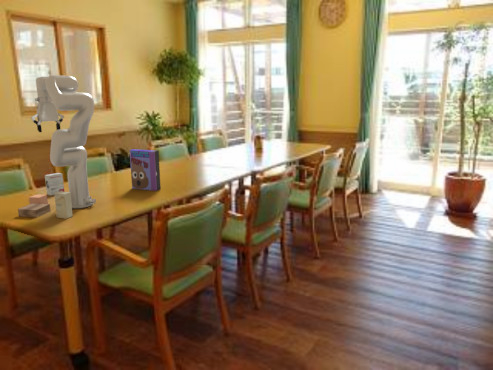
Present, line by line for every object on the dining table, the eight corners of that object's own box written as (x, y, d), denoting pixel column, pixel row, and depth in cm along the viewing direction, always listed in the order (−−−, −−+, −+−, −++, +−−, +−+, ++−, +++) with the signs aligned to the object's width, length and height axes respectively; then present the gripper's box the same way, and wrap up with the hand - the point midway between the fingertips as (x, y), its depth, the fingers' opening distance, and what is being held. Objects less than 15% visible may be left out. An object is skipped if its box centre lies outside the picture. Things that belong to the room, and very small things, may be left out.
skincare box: (56, 217, 195) (53, 193, 192) (63, 214, 199) (60, 190, 196) (66, 218, 193) (63, 194, 190) (73, 216, 197) (70, 192, 194)
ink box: (60, 191, 244) (58, 172, 241) (65, 192, 241) (62, 173, 238) (46, 194, 237) (44, 174, 235) (50, 195, 234) (48, 175, 232)
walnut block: (50, 211, 205) (49, 204, 204) (37, 218, 195) (35, 210, 194) (33, 210, 207) (32, 203, 206) (18, 216, 197) (17, 209, 196)
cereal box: (132, 188, 250) (129, 150, 245) (136, 186, 254) (134, 148, 249) (156, 191, 244) (153, 151, 238) (160, 189, 248) (158, 150, 243)
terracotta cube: (48, 205, 215) (46, 194, 214) (40, 208, 209) (39, 197, 208) (38, 205, 216) (36, 194, 215) (30, 208, 210) (28, 197, 209)
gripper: (30, 100, 216) (34, 133, 220) (64, 100, 227) (67, 130, 231) (26, 100, 221) (30, 132, 225) (59, 99, 233) (62, 129, 237)
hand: (49, 131), depth 228 cm, fingers open, 9 cm apart
